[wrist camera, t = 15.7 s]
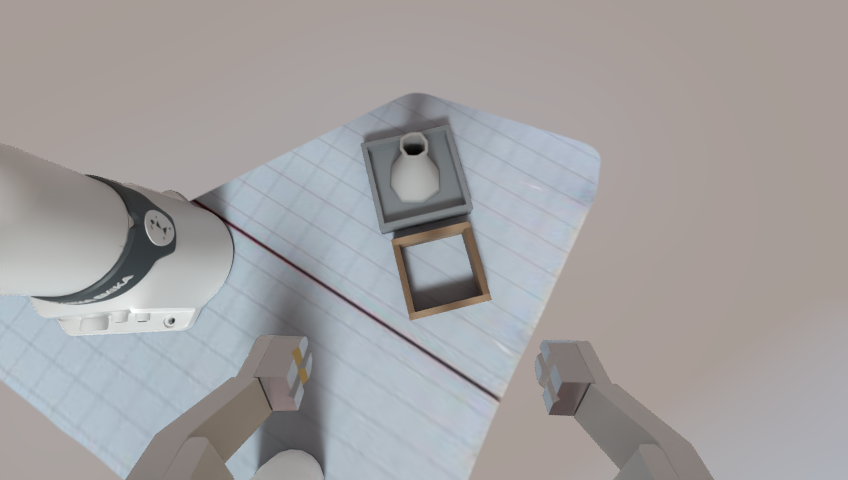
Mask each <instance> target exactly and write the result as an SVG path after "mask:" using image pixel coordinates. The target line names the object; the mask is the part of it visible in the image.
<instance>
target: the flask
mask: <svg viewBox="0 0 848 480" xmlns="http://www.w3.org/2000/svg"><path fill="white" fill-rule="evenodd" d="M400 151H401V152H402V154H401V156H400V157H399V158H398V159H397V161H396V162H395V163H394V164H393V165H392V166H391V172H390V187H391V189H392V190H393V191H394V193H395V194H396V195H397V197H398V198H399V200H400V201H401V202H402V203H424V202H426V201H427V200H428V199H430V198H431V197H433V196H434V195H436V194H437V193H439V192H440V171H439V170H438V168H437V167H436V166H435V165H434V163H433V162H432V161H431V159H430V158H429V157H428V156H427V153H428V140H427V139H426V138H425V136H424V135H423V134H422V133H421V132H409V133H407V134H405V135H404V136H402V137H401V138H400Z"/></svg>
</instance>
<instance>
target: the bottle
mask: <svg viewBox="0 0 848 480" xmlns="http://www.w3.org/2000/svg"><path fill="white" fill-rule="evenodd" d="M250 480H324V476H323V473H322V470H321V467H320V465H319V463H318V462H317V461H316V460H315V459H314V457H313V456H312V455H310V454H308V453H306V452H304V451H302V450H294V449H290V450H286V451H283V452H279V453H278V454H277V455H275V456H274V457H272V458H271V459H270V460H269V461H268V462H266V463H265V464H264V465H262V466H261V467H260V468H259V469H258V470H257V472H256V473H255V474H254V476H253V477H252V478H251V479H250Z"/></svg>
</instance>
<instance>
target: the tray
mask: <svg viewBox="0 0 848 480" xmlns="http://www.w3.org/2000/svg"><path fill="white" fill-rule="evenodd" d="M416 132H421V133H422V134H423V135H424V136H425V138H426V139H427V140H428V153H427V156H428V157H429V158H430V159H431V161H432V162H433V163H434V165H435V166H436V167H437V168H438V170H439V171H440V192H439V193H437V194H436V195H434V196H433V197H431V198H430V199H428V200H427V201H426V202H424V203H402V202H401V201H400V200H399V198H398V197H397V195H396V194H395V193H394V191H393V190H392V189H391V187H390V172H391V166H392V165H393V164H394V163H395V162H396V161H397V159H398V158H399V157H400V156H401V154H402V152H401V151H400V138H401V137H402V136H404V135H405V134H403V135H398V136H394V137H389V138H384V139H380V140H375V141H371V142H366V143H362V144H361V147H362V152H363V156H364V161H365V165H366V169H367V174H368V178H369V183H370V187H371V191H372V196H373V200H374V204H375V209H376V213H377V218H378V222H379V226H380V230H381V232H382V234H386V233H390V232H394V231H398V230H403V229H407V228H411V227H415V226H419V225H424V224H428V223H432V222H436V221H440V220H445V219H449V218H453V217H457V216H461V215H466V214H470V213H471V211H472V209H473V206H472V202H471V199H470V195H469V192H468V189H467V185H466V182H465V178H464V175H463V171H462V168H461V164H460V161H459V158H458V154H457V151H456V147H455V144H454V140H453V137H452V134H451V130H450V127H449V124H448V125H444V126H439V127H435V128H430V129H425V130H421V131H416Z"/></svg>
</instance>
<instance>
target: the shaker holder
mask: <svg viewBox="0 0 848 480" xmlns="http://www.w3.org/2000/svg"><path fill="white" fill-rule="evenodd" d="M459 234H462V236H463V240H464V243H465V247H466V251H467V254H468V258H469V261H470V265H471V269H472V272H473V276H474V279H475V283H476V286H477V290H478V294H479V296H476V297H472V298H468V299H465V300H461V301H457V302H453V303H449V304H445V305H441V306H437V307H433V308H429V309H425V310H421V311H417V312H415V308H414V304H413V300H412V296H411V292H410V287H409V283H408V279H407V275H406V270H405V266H404V262H403V258H402V254H401V248H405V247H409V246H413V245H417V244H421V243H425V242H430V241H434V240H438V239H442V238H446V237H450V236H454V235H459ZM391 241H392V245H393V249H394V254H395V258H396V262H397V266H398V271H399V275H400V279H401V284H402V288H403V292H404V296H405V301H406V305H407V309H408V314H409V318H410V320H414V319H418V318H422V317H426V316H430V315H434V314H438V313H442V312H446V311H449V310H453V309H457V308H461V307H465V306H469V305H473V304H477V303H481V302H485V301H489V300H492V299H491V296H490V292H489V289H488V285H487V282H486V278H485V275H484V271H483V268H482V264H481V261H480V257H479V254H478V250H477V247H476V243H475V240H474V236H473V233H472V229H471V226H470V222H469V221H467V222H463V223H459V224H455V225H451V226H447V227H442V228H438V229H434V230H430V231H426V232H422V233H417V234H413V235H409V236H405V237H401V238H396V239H392V240H391Z"/></svg>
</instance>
